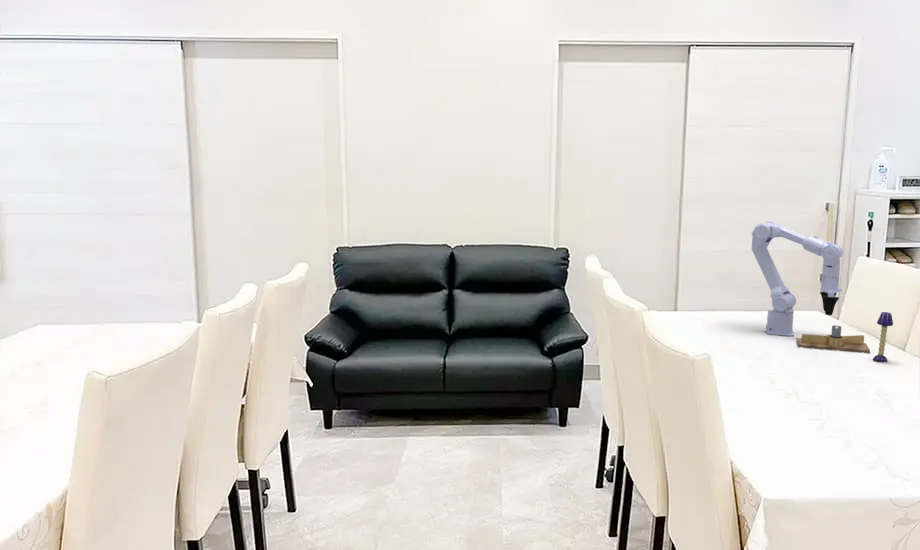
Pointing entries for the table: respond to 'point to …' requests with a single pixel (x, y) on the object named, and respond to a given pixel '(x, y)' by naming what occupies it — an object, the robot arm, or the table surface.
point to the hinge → (833, 340)
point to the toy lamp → (883, 334)
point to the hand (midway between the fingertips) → (827, 312)
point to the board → (849, 348)
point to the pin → (836, 331)
